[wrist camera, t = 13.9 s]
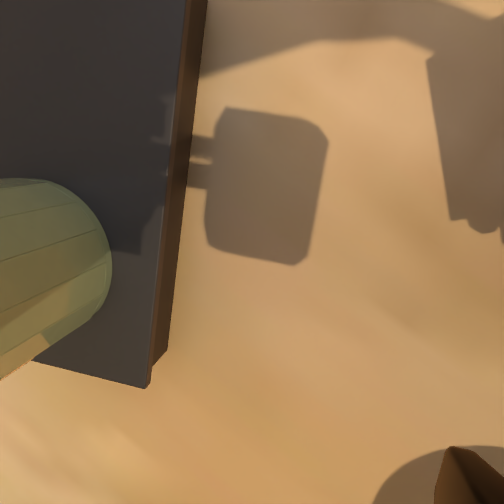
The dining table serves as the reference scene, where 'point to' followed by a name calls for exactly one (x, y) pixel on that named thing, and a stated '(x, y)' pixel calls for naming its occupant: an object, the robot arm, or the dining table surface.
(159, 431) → the dining table surface
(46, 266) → the cup
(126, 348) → the box
